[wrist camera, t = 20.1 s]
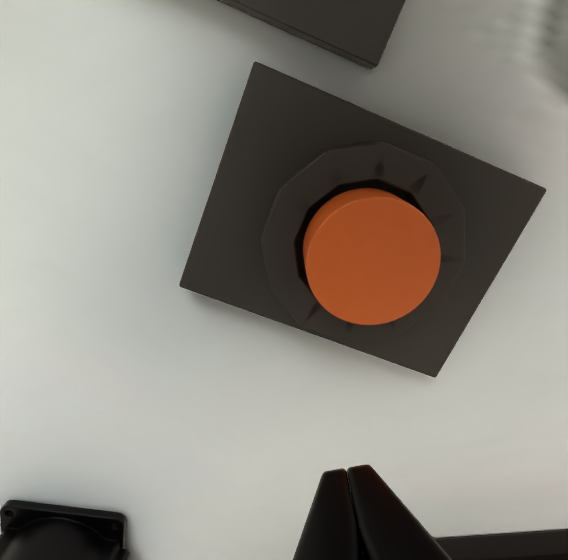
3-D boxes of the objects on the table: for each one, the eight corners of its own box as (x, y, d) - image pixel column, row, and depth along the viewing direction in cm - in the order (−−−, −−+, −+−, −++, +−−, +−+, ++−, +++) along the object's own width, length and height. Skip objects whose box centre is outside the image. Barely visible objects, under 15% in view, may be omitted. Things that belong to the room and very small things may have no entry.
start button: (285, 279, 16) (285, 300, 14) (332, 168, 15) (339, 174, 13) (389, 318, 17) (403, 343, 15) (443, 214, 15) (466, 227, 14)
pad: (185, 275, 19) (168, 301, 16) (256, 66, 16) (251, 52, 13) (426, 362, 20) (449, 400, 18) (528, 184, 18) (575, 195, 15)
